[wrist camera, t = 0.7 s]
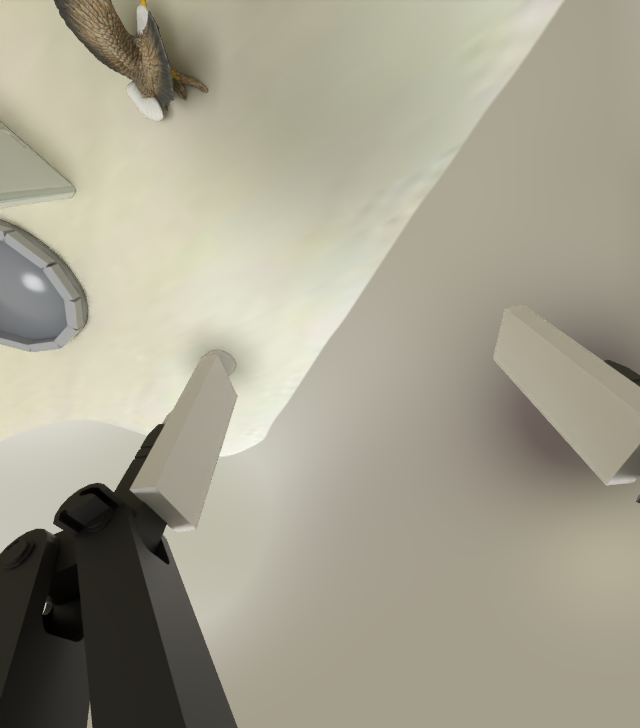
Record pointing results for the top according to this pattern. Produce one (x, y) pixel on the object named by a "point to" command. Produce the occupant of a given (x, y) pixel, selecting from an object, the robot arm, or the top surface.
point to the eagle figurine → (128, 52)
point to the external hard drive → (27, 174)
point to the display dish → (36, 294)
